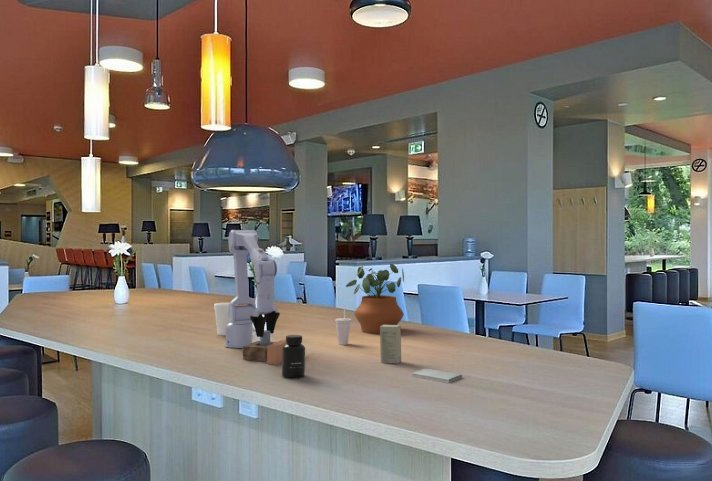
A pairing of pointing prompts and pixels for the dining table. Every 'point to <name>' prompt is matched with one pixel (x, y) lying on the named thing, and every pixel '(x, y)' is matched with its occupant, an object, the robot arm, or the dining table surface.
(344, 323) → the smoothie
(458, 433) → the dining table surface
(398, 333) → the skincare box
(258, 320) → the robot arm
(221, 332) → the foam cup
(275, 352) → the block
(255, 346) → the pocket block
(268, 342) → the dowel
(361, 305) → the potted plant
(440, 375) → the hard drive
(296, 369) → the supplement bottle
